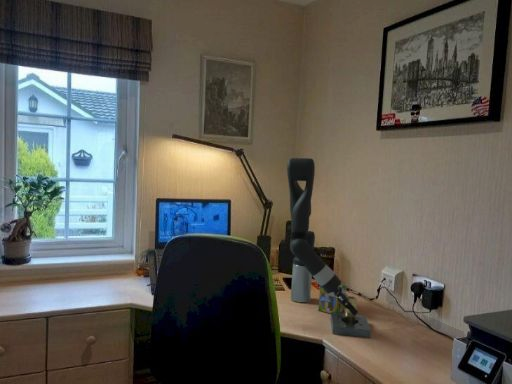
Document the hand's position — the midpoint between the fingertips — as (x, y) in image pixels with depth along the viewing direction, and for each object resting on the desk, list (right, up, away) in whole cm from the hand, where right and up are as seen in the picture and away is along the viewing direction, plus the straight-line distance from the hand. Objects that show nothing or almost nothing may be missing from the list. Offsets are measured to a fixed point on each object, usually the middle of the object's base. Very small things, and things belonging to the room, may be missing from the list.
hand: (355, 311), depth 163 cm
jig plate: (-2, -7, +1) cm, 7 cm away
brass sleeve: (-2, -4, 0) cm, 4 cm away
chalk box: (-6, -6, +20) cm, 22 cm away
